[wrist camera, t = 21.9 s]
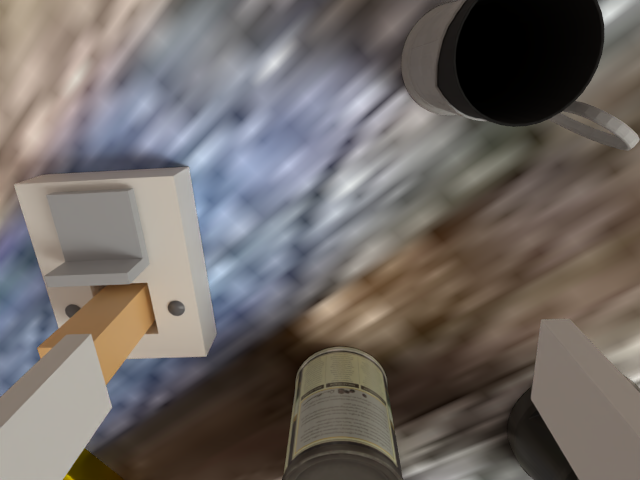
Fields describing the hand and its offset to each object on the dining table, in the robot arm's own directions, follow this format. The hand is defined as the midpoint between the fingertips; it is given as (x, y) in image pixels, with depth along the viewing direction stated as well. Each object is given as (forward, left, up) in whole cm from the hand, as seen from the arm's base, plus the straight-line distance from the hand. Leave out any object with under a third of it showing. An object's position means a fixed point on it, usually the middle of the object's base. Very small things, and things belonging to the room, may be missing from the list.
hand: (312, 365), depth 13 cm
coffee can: (-24, 0, -29) cm, 38 cm away
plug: (-12, +20, -29) cm, 37 cm away
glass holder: (+7, -13, -29) cm, 32 cm away
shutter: (-3, +20, -24) cm, 32 cm away
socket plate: (-8, +20, -29) cm, 36 cm away
